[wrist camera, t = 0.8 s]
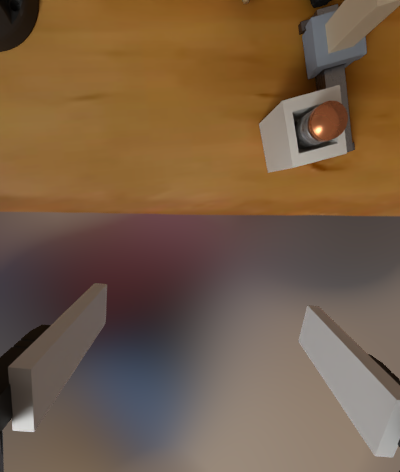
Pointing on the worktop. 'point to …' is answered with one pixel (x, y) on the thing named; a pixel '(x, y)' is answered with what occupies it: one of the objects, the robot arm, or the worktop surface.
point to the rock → (319, 3)
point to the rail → (332, 77)
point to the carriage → (342, 33)
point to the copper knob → (321, 124)
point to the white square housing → (284, 136)
